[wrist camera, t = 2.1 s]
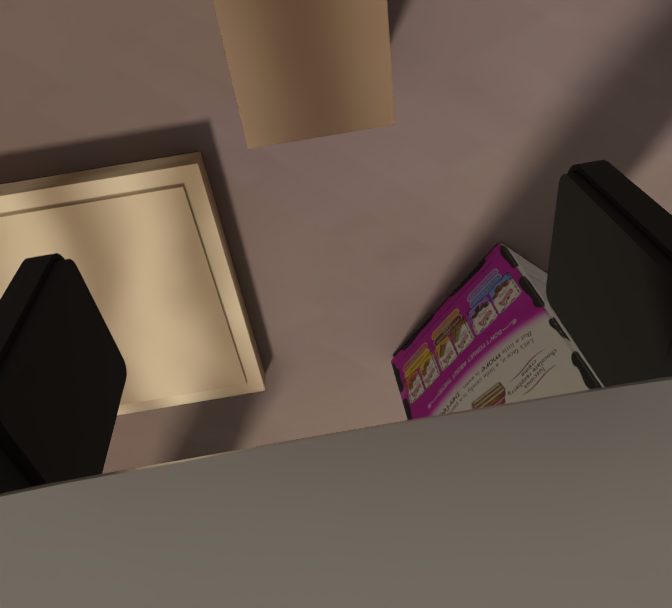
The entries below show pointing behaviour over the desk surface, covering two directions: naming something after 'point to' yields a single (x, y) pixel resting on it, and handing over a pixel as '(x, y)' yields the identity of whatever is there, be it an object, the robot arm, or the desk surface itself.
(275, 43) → the cube
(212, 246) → the board
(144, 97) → the desk surface
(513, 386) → the candy bar box
